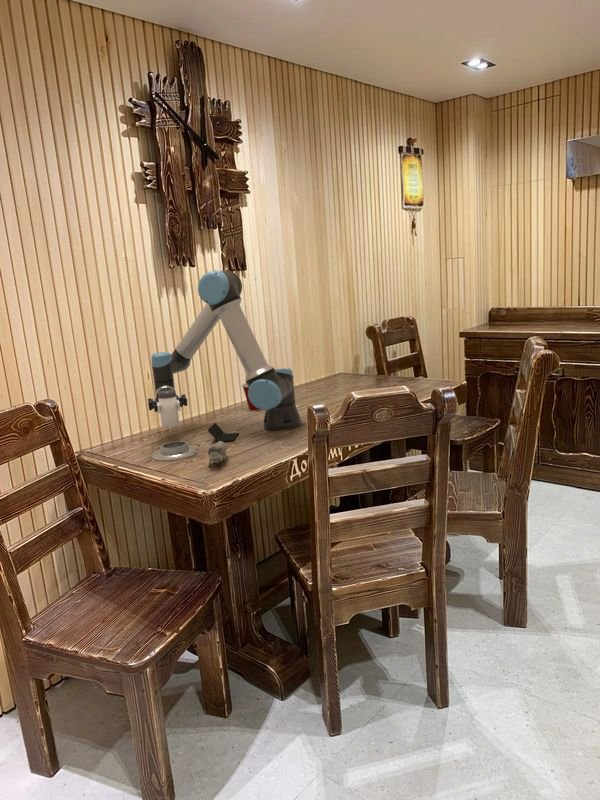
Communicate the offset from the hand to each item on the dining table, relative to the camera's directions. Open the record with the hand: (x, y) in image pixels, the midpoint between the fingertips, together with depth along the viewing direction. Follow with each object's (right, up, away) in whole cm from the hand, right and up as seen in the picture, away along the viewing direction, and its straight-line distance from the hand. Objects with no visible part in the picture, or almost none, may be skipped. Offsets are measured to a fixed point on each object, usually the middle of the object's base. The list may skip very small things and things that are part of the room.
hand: (169, 408), depth 202 cm
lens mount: (+1, -16, +8) cm, 18 cm away
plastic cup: (+24, -2, +73) cm, 77 cm away
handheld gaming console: (+16, -12, +24) cm, 31 cm away
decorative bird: (+18, -18, -7) cm, 26 cm away
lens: (-1, -6, +6) cm, 9 cm away
